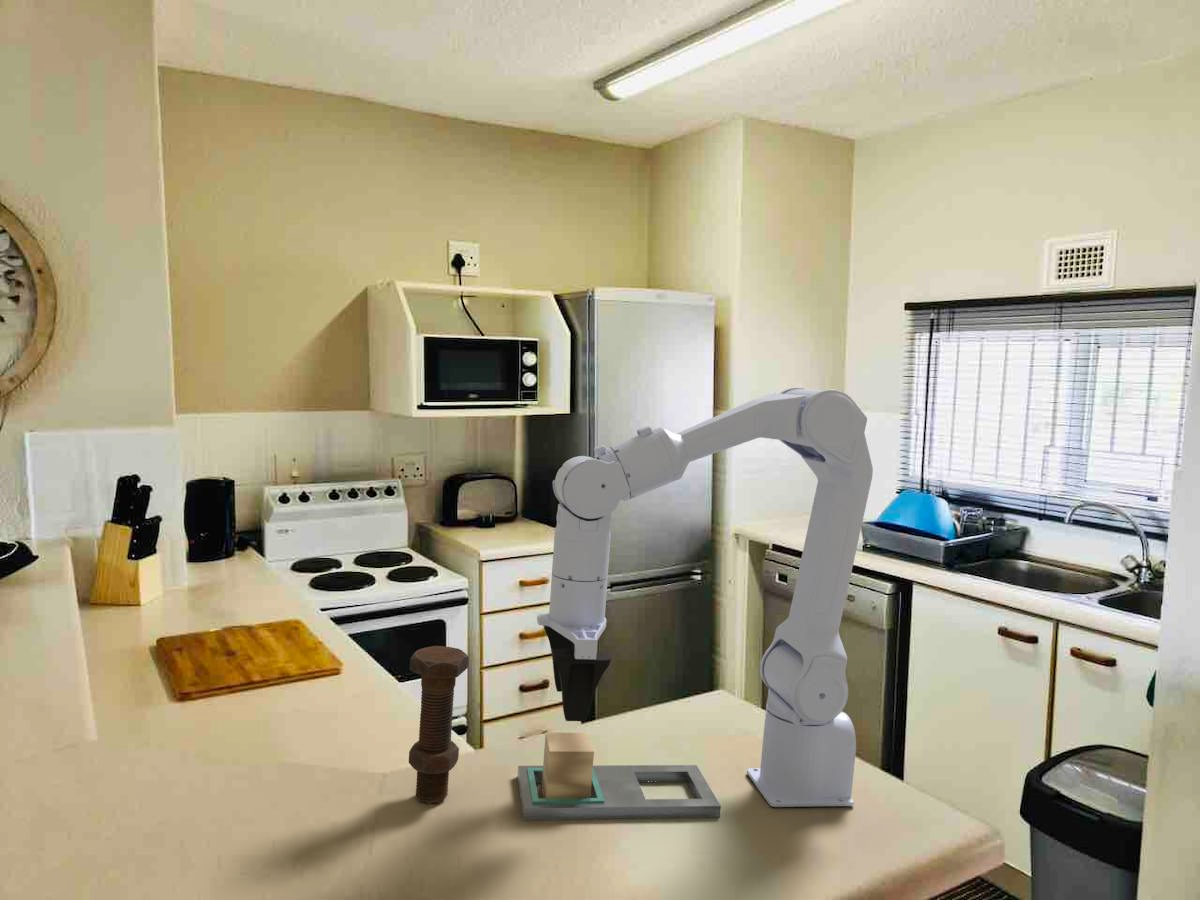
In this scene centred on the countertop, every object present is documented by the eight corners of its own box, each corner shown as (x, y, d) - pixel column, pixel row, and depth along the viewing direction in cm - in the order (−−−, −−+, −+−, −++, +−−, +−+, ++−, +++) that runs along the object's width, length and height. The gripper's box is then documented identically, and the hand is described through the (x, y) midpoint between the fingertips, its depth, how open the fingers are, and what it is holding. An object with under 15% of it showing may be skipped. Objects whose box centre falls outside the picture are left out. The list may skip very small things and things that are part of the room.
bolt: (443, 816, 82) (453, 666, 81) (395, 807, 83) (404, 659, 82) (465, 789, 88) (474, 648, 86) (419, 781, 89) (428, 642, 87)
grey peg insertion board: (695, 775, 94) (696, 763, 94) (719, 817, 86) (721, 804, 85) (517, 776, 91) (518, 764, 91) (523, 820, 82) (524, 806, 82)
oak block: (583, 786, 90) (587, 732, 90) (589, 808, 86) (593, 751, 85) (541, 787, 89) (545, 732, 89) (545, 808, 85) (549, 751, 84)
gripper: (534, 557, 92) (526, 678, 93) (547, 592, 78) (538, 734, 79) (598, 560, 93) (589, 679, 94) (622, 594, 79) (612, 734, 80)
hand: (570, 704), depth 87 cm, fingers open, 7 cm apart
